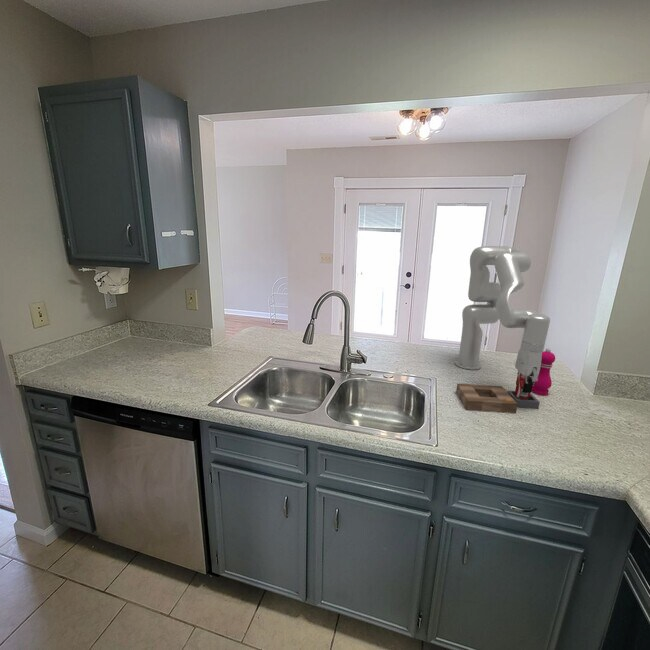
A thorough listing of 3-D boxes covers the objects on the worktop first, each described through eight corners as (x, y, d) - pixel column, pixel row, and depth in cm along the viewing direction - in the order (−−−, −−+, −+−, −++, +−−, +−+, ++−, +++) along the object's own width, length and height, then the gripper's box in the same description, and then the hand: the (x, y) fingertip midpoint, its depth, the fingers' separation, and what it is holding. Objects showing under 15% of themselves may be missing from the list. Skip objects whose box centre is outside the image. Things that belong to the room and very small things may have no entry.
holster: (506, 397, 140) (507, 390, 139) (527, 398, 139) (529, 391, 139) (515, 407, 132) (516, 400, 131) (538, 408, 131) (539, 401, 130)
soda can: (515, 392, 139) (521, 366, 136) (530, 397, 136) (536, 369, 133) (512, 397, 135) (518, 370, 132) (527, 401, 132) (533, 373, 129)
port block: (456, 392, 144) (457, 382, 143) (500, 394, 142) (501, 385, 141) (466, 409, 129) (468, 399, 128) (515, 413, 128) (517, 403, 127)
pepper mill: (525, 389, 147) (534, 346, 142) (537, 387, 150) (546, 344, 144) (541, 397, 141) (550, 352, 135) (553, 394, 143) (563, 350, 138)
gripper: (512, 338, 138) (504, 378, 143) (532, 353, 122) (523, 398, 127) (532, 339, 137) (523, 379, 142) (554, 354, 121) (544, 400, 126)
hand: (523, 388), depth 135 cm, fingers closed on soda can, 5 cm apart
